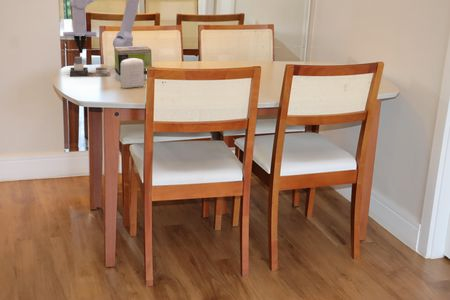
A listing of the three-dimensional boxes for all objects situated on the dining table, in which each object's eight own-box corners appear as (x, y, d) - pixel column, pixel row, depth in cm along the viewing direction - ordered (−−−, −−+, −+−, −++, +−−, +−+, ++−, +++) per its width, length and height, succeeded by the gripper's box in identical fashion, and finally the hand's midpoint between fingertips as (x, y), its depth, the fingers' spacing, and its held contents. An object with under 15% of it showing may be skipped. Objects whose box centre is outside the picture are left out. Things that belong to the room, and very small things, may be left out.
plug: (83, 73, 288) (83, 56, 285) (83, 75, 284) (82, 57, 281) (74, 73, 287) (74, 56, 284) (74, 75, 283) (73, 58, 281)
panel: (110, 74, 292) (110, 66, 291) (110, 78, 284) (110, 71, 283) (70, 74, 289) (70, 67, 288) (69, 79, 281) (69, 71, 280)
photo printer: (141, 84, 275) (140, 56, 271) (145, 86, 272) (145, 58, 268) (119, 87, 270) (118, 58, 266) (123, 89, 266) (122, 60, 262)
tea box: (147, 77, 290) (147, 45, 285) (152, 82, 281) (152, 49, 276) (115, 78, 285) (114, 45, 280) (118, 83, 276) (117, 49, 271)
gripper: (62, 23, 277) (64, 54, 281) (95, 23, 279) (97, 54, 284) (63, 21, 283) (64, 51, 288) (95, 21, 286) (97, 51, 290)
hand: (80, 52), depth 286 cm, fingers closed
